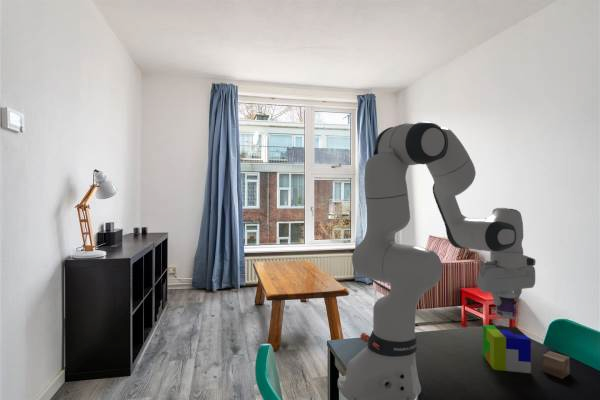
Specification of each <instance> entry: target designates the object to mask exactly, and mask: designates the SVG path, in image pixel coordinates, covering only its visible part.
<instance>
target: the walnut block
mask: <svg viewBox="0 0 600 400" xmlns="http://www.w3.org/2000/svg"><path fill="white" fill-rule="evenodd" d="M570 363H571V362H570V357H569V356H566V355H564V354H560V353H557V352H553V351H551V350H550V351H547V352H546V353H544V354H542V372H543V373H546V374H548V375H550V376H554V377H557V378H559V379H562V380H563V379H564V378H566V377H568V376H569V375H570V371H571V369H570V367H571V366H570Z"/></svg>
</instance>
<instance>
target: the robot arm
mask: <svg viewBox="0 0 600 400" xmlns="http://www.w3.org/2000/svg"><path fill="white" fill-rule="evenodd" d="M415 165H426V167H427V170H428V171H429V174H430V175H431V178H432V179H433V186H432V194H433V198H434V200H435V202H436V203H435V204H436V206H437V209H438V211H439V213H440V215H441V218H442V220H443V223H444V226H445V233H446V236H447V239H448V241H449V242H450V244H451V245H452V246H453V247H455V248H456V249H467V250H468V249H469V250H476V251H484V252H489V253H490V256H489V257H490V260H488V261H487V260H486V261H483V263H481V265H479V270H478V275H477V283H476V285H477V289H478V290H479V291H480V292H484V293H486V294H488V293H490V294H491V296H492V298H493V304H494V305H495V306H496V305H497V306H499V305H502V300H501V299H500V297H499V295H500V291H508V290H509V289H510V287H513V289H514V291H513V293H515V294H516V304H519V301H520V299H519V298H520V297H521V294H522V293H523V292H522V290H523V289H524V290H525V289H532V288H534V287H535V285H536V268H535V267H534V266H536V259H535V258H533V257H531V256H528V255H525V254H524V248H523V240H524V224H523V222H524V221H523V217H522V215H521V214H522V213H521V212H520V211H519V210H517V209H513V208H508V207H496V208H494V209H493V210H492V214H490V215H489V216H488V217H485V218H470V217H467V216H465V215H463V213H462V212H461V209H460V207H459V203H458V200H457V197H456V196H459V195H461V194H462V193H463V192H465V191H466V190H468V188H469V187H471V186H472V184H473V183H474V180H475V178H476V168H475V165H474V162H473V161H472V159H471V157H470V154H469V153H468V151H467V149H466V148H465V146H464V145H463V143H462V141H461V140H460V139H459V138H458V137H457V135H456V134H455V133H454V132H453V131H452V130H451V129H450V128H446V127H441V126H440V125H438V124H436V123H435V122H434V123H433V122H432V121H431V122H430V121H419V122H412V123H411V122H410V123H401V124H398V125H395V126H390V127H388V128H386V129H384V130H382V131H381V132H380V133H379V134H378V136H377V138H376V139H375V143H374V150H373V156H371V157H369V158H368V159H367V160H366V162H365V166H364V194H365V204H366V215H367V216H366V217H367V227H366V233H365V235H364V237H363V239H362V240H361V242H360V243H359V244H357V245H356V247H355V248H354V249H353V252H352V255H351V264H352V266H353V269H354V271H355V272H356V273H357V274H359V275H360V276H362V277H365V278H367V279H369V280H372V281H376V282H377V281H378V282H383V283H387V284H390V289H389V293H388V294H386V295H384V296H382V297H380V298H378V299H377V300H376V302H374V305H373V307H372V310H373V311H372V312H373V313H372V315H373V316H372V319H373V320H372V323H373V325H372V326H373V327H372V331H371V334H370V335H368V334H367V333H365V332H362V333H361V334H360V340H362V341H363V342H364V343H367V345H366V346H365V347H364V348H363V349H361V351H360V352H358V353H357V354H356V355H355V356H354V357H353V358H351V359H350V360H349V361H348V363H347V366H346V371H345V375H343V376H342V375H341V376H340V377H338V379H337V388H338V390H339V392H340V394H342V396H343V397H344V398H345V399H347V400H419V399H418V398H419V395H420V394H421V392H422V386H421V384H420V379H419V376H418V367H417V361H416V360H417V358H416V351H417V335H416V314H417V308H418V304H419V302H420V300H421V298H422V297H423V295H425V293H427V292H428V291H429V290H431V289H433V288H434V287H435V286H437V284H438V283H439V282H440V280H441V278H442V275H443V264H442V261H441V258H440V256H439V255H438V253H437V252H436V251H433V250H431V249H428V248H425V247H422V246H418V245H410V244H401V243H396V233H398V232H400V231H402V230H403V229H405V228H406V227H407V226H408V224H409V222H410V219H411V211H410V210H411V209H410V202H409V193H408V192H409V191H408V184H407V180H406V179H407V178H406V175H407V171H408V168H409V166H415Z"/></svg>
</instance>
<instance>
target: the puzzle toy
mask: <svg viewBox="0 0 600 400" xmlns="http://www.w3.org/2000/svg"><path fill="white" fill-rule="evenodd" d="M531 352H532V339H531V338H530V337H528V336H527V335H526V334H525V333H524V332H522V330H520V329H519V328H518V327H517V326H516V327H515V326H503V325H488V324H483V325H482V355H483V357H484V360H486V362H487V363H488V364H489V365H490V367H491V368H492V370H495V371H504V372H513V373H514V372H515V373H525V374H531V373H532V371H531V369H532V367H531V365H532V364H531V363H532V355H531V354H532V353H531Z"/></svg>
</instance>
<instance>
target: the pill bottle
mask: <svg viewBox="0 0 600 400" xmlns="http://www.w3.org/2000/svg"><path fill="white" fill-rule="evenodd" d="M513 292H514V289H513V287H510V289H509V290H508V291H500V295H499V297H500V299H501V300H502V305H499V306H497V305H495V313H496V316H497V317H498V318H502V319H504V320H505V319H506V320H515V319H516V318H517V303H516V294H515V293H513Z"/></svg>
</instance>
